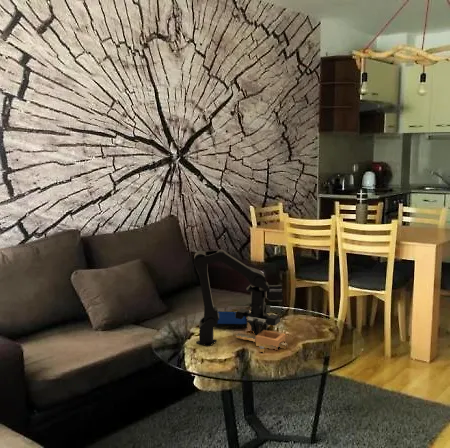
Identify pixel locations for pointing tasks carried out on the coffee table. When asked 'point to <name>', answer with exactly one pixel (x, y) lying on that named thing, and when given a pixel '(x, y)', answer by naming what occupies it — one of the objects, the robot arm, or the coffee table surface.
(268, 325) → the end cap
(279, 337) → the collar
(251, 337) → the rail
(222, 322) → the handheld game console
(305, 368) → the coffee table surface
